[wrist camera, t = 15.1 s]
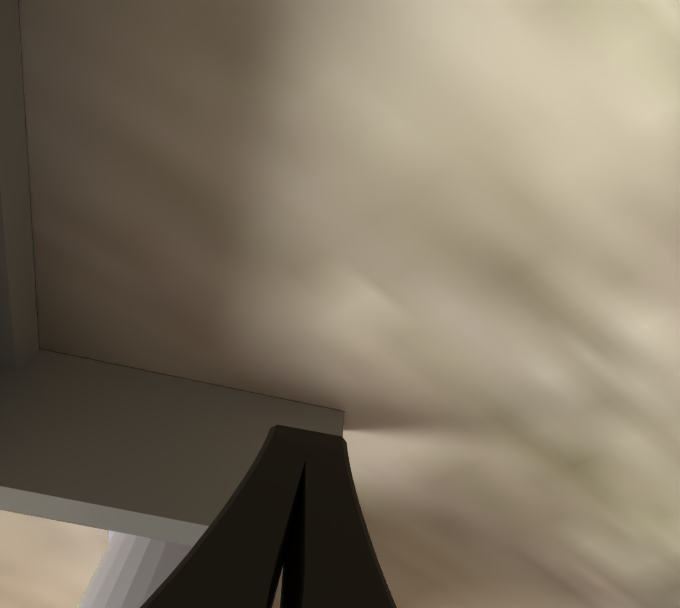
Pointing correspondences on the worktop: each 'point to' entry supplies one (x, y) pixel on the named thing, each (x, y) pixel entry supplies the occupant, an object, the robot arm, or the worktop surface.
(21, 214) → the housing
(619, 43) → the worktop surface
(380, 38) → the worktop surface
